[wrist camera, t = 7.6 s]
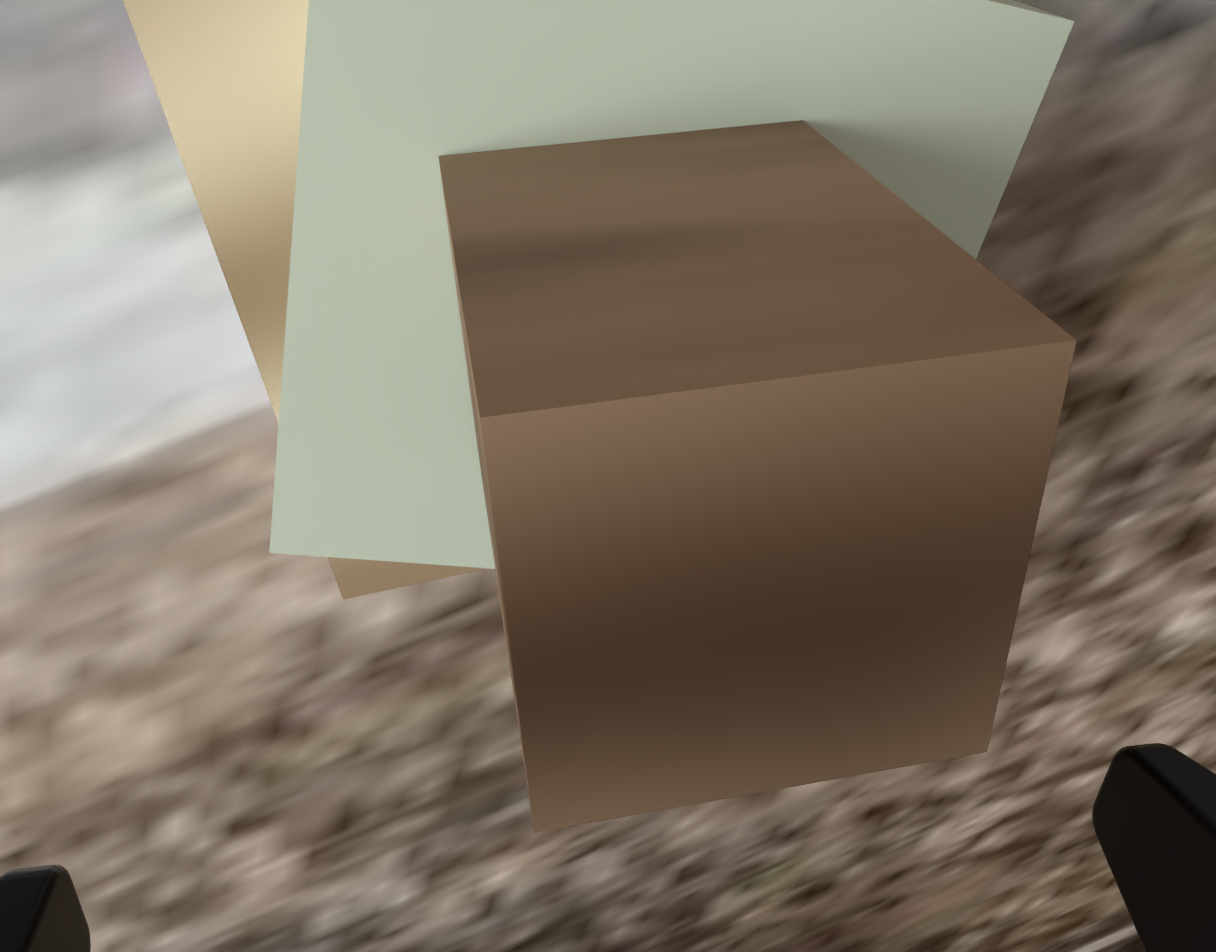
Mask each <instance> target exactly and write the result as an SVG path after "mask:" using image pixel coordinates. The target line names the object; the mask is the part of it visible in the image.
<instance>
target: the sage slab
mask: <svg viewBox="0 0 1216 952" xmlns="http://www.w3.org/2000/svg"><path fill="white" fill-rule="evenodd" d="M1074 22H1075V21H1073V20H1070V19H1067V18H1064V17H1061V16H1058V15H1056V14H1053V13H1050V12H1047V11H1044V10H1041V9H1039V8H1036V7H1033V6H1030V5H1027V4H1024V3H1021V2H1019V1H1016V0H309V4H308V18H307V32H306V46H305V60H304V74H303V88H302V102H301V116H300V130H299V144H298V159H297V173H296V187H295V201H294V215H293V229H292V243H291V257H290V271H289V285H288V299H287V313H286V328H285V342H284V356H283V370H282V384H281V398H280V412H279V426H278V440H277V454H276V468H275V483H274V497H273V511H272V525H271V539H270V553H280V554H294V555H308V556H322V557H335V558H349V559H363V560H377V561H391V562H405V563H419V564H433V565H447V566H461V567H475V568H489V569H495V563H494V557H493V550H492V543H491V536H490V530H489V523H488V516H487V509H486V503H485V496H484V489H483V482H482V476H481V468H480V461H479V454H478V446H477V439H476V431H475V424H474V417H473V409H472V402H471V394H470V387H469V379H468V372H467V365H466V357H465V350H464V342H463V335H462V328H461V320H460V313H459V305H458V298H457V290H456V283H455V276H454V268H453V261H452V253H451V246H450V238H449V231H448V224H447V216H446V209H445V201H444V194H443V187H442V179H441V172H440V164H439V157H438V156H444V155H454V154H464V153H474V152H484V151H494V150H504V149H515V148H525V147H535V146H545V145H555V144H565V143H575V142H585V141H595V140H605V139H615V138H625V137H635V136H645V135H655V134H665V133H676V132H686V131H696V130H706V129H716V128H726V127H737V126H747V125H757V124H768V123H778V122H788V121H798V120H803V121H804V122H806V123H807V124H808V125H809V126H811V127H812V128H813V129H814V130H816V131H817V132H818V133H819V134H821V135H822V136H823V137H824V138H826V139H827V140H828V141H829V142H831V143H832V144H833V145H834V146H836V147H837V148H838V149H839V150H841V151H842V152H843V153H844V154H845V155H847V156H848V157H849V158H850V159H852V160H853V161H854V162H855V163H857V164H858V165H859V166H860V167H862V168H863V169H864V170H865V171H867V172H868V173H869V174H870V175H872V176H873V177H874V178H875V179H877V180H878V181H879V182H880V183H882V184H883V185H884V186H885V187H887V188H888V189H889V190H890V191H892V192H893V193H894V194H895V195H897V196H898V197H899V198H900V199H902V200H903V201H904V202H905V203H906V204H908V205H909V206H910V207H911V208H913V209H914V210H915V211H916V212H918V213H919V214H920V215H921V216H923V217H924V218H925V219H926V220H928V221H929V222H930V223H931V224H933V225H934V226H935V227H936V228H938V229H939V230H940V231H941V232H943V233H944V234H945V235H946V236H948V237H949V238H950V239H951V240H953V241H954V242H955V243H956V244H958V245H959V246H960V247H961V248H962V249H964V250H965V251H966V252H967V253H969V254H970V255H971V256H972V257H974V258H975V259H976V258H977V256H978V253H979V251H980V248H981V246H982V243H983V241H984V239H985V236H986V234H987V231H988V229H989V227H990V224H991V222H992V219H993V217H994V215H995V212H996V210H997V207H998V205H999V202H1000V200H1001V198H1002V195H1003V193H1004V190H1005V188H1006V186H1007V183H1008V181H1009V178H1010V176H1011V174H1012V171H1013V169H1014V166H1015V164H1016V161H1017V159H1018V157H1019V154H1020V152H1021V149H1022V147H1023V145H1024V142H1025V140H1026V137H1027V135H1028V132H1029V130H1030V128H1031V125H1032V123H1033V120H1034V118H1035V116H1036V113H1037V111H1038V108H1039V106H1040V104H1041V101H1042V99H1043V96H1044V94H1045V91H1046V89H1047V87H1048V84H1049V82H1050V79H1051V77H1052V75H1053V72H1054V70H1055V67H1056V65H1057V63H1058V60H1059V58H1060V55H1061V53H1062V50H1063V48H1064V46H1065V43H1066V41H1067V38H1068V36H1069V34H1070V31H1071V29H1072V26H1073V24H1074Z"/></svg>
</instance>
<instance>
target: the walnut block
mask: <svg viewBox="0 0 1216 952" xmlns="http://www.w3.org/2000/svg"><path fill="white" fill-rule="evenodd" d="M438 157H439V164H440V172H441V179H442V187H443V194H444V201H445V209H446V216H447V224H448V231H449V238H450V246H451V253H452V261H453V268H454V276H455V283H456V290H457V298H458V305H459V313H460V320H461V328H462V335H463V342H464V350H465V357H466V365H467V372H468V379H469V387H470V394H471V402H472V409H473V417H474V424H475V431H476V439H477V446H478V454H479V461H480V468H481V476H482V482H483V489H484V496H485V503H486V509H487V516H488V523H489V530H490V536H491V543H492V550H493V557H494V563H495V570H496V577H497V584H498V591H499V597H500V604H501V611H502V618H503V624H504V631H505V638H506V645H507V651H508V658H509V665H510V672H511V678H512V685H513V692H514V699H515V706H516V712H517V719H518V726H519V733H520V739H521V746H522V753H523V760H524V766H525V773H526V780H527V787H528V793H529V800H530V807H531V814H532V821H533V827H534V833H536V832H542V831H547V830H553V829H559V828H564V827H570V826H575V825H581V824H587V823H592V822H598V821H603V820H609V819H614V818H620V817H626V816H631V815H637V814H642V813H648V812H654V811H659V810H665V809H670V808H676V807H682V806H687V805H693V804H698V803H704V802H710V801H715V800H721V799H726V798H732V797H737V796H743V795H749V794H754V793H760V792H765V791H771V790H777V789H782V788H788V787H793V786H799V785H805V784H810V783H816V782H821V781H827V780H833V779H838V778H844V777H849V776H855V775H860V774H866V773H872V772H877V771H883V770H888V769H894V768H900V767H905V766H911V765H916V764H922V763H928V762H933V761H939V760H944V759H950V758H956V757H961V756H967V755H972V754H978V753H983V752H987V749H988V744H989V740H990V735H991V730H992V726H993V721H994V717H995V712H996V708H997V703H998V698H999V694H1000V689H1001V685H1002V680H1003V675H1004V671H1005V666H1006V662H1007V657H1008V653H1009V648H1010V643H1011V639H1012V634H1013V630H1014V625H1015V620H1016V616H1017V611H1018V607H1019V602H1020V598H1021V593H1022V588H1023V584H1024V579H1025V575H1026V570H1027V565H1028V561H1029V556H1030V552H1031V547H1032V543H1033V538H1034V533H1035V529H1036V524H1037V520H1038V515H1039V510H1040V506H1041V501H1042V497H1043V492H1044V488H1045V483H1046V478H1047V474H1048V469H1049V465H1050V460H1051V455H1052V451H1053V446H1054V442H1055V437H1056V433H1057V428H1058V423H1059V419H1060V414H1061V410H1062V405H1063V400H1064V396H1065V391H1066V387H1067V382H1068V378H1069V373H1070V368H1071V364H1072V359H1073V355H1074V350H1075V345H1076V341H1077V340H1076V339H1075V338H1073V337H1072V336H1071V335H1070V334H1068V333H1067V332H1066V331H1065V330H1063V329H1062V328H1061V327H1060V326H1058V325H1057V324H1056V323H1055V322H1053V321H1052V320H1051V319H1050V318H1048V317H1047V316H1046V315H1045V314H1043V313H1042V312H1041V311H1040V310H1038V309H1037V308H1036V307H1035V306H1033V305H1032V304H1031V303H1030V302H1028V301H1027V300H1026V299H1025V298H1023V297H1022V296H1021V295H1020V294H1019V293H1017V292H1016V291H1015V290H1014V289H1012V288H1011V287H1010V286H1009V285H1007V284H1006V283H1005V282H1004V281H1002V280H1001V279H1000V278H999V277H997V276H996V275H995V274H994V273H992V272H991V271H990V270H989V269H987V268H986V267H985V266H984V265H982V264H981V263H980V262H979V261H977V260H976V259H975V258H974V257H972V256H971V255H970V254H969V253H967V252H966V251H965V250H964V249H962V248H961V247H960V246H959V245H958V244H956V243H955V242H954V241H953V240H951V239H950V238H949V237H948V236H946V235H945V234H944V233H943V232H941V231H940V230H939V229H938V228H936V227H935V226H934V225H933V224H931V223H930V222H929V221H928V220H926V219H925V218H924V217H923V216H921V215H920V214H919V213H918V212H916V211H915V210H914V209H913V208H911V207H910V206H909V205H908V204H906V203H905V202H904V201H903V200H902V199H900V198H899V197H898V196H897V195H895V194H894V193H893V192H892V191H890V190H889V189H888V188H887V187H885V186H884V185H883V184H882V183H880V182H879V181H878V180H877V179H875V178H874V177H873V176H872V175H870V174H869V173H868V172H867V171H865V170H864V169H863V168H862V167H860V166H859V165H858V164H857V163H855V162H854V161H853V160H852V159H850V158H849V157H848V156H847V155H845V154H844V153H843V152H842V151H841V150H839V149H838V148H837V147H836V146H834V145H833V144H832V143H831V142H829V141H828V140H827V139H826V138H824V137H823V136H822V135H821V134H819V133H818V132H817V131H816V130H814V129H813V128H812V127H811V126H809V125H808V124H807V123H806V122H804V121H803V120H798V121H788V122H778V123H768V124H757V125H747V126H737V127H726V128H716V129H706V130H696V131H686V132H676V133H665V134H655V135H645V136H635V137H625V138H615V139H605V140H595V141H585V142H575V143H565V144H555V145H545V146H535V147H525V148H515V149H504V150H494V151H484V152H474V153H464V154H454V155H444V156H438Z"/></svg>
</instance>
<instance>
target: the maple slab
mask: <svg viewBox="0 0 1216 952" xmlns="http://www.w3.org/2000/svg"><path fill="white" fill-rule="evenodd" d="M123 1H124V4H125V7H126V10H127V12H128V15H129V18H130V20H131V23H132V26H133V29H134V31H135V34H136V37H137V39H138V42H139V45H140V48H141V50H142V53H143V56H144V59H145V61H146V64H147V67H148V69H149V72H150V75H151V78H152V80H153V83H154V86H155V88H156V91H157V94H158V97H159V99H160V102H161V105H162V107H163V110H164V113H165V116H166V118H167V121H168V124H169V127H170V129H171V132H172V135H173V137H174V140H175V143H176V146H177V148H178V151H179V154H180V156H181V159H182V162H183V165H184V167H185V170H186V173H187V176H188V178H189V181H190V184H191V186H192V189H193V192H194V195H195V197H196V200H197V203H198V205H199V208H200V211H201V214H202V216H203V219H204V222H205V225H206V227H207V230H208V233H209V235H210V238H211V241H212V244H213V246H214V249H215V252H216V254H217V257H218V260H219V263H220V265H221V268H222V271H223V273H224V276H225V279H226V282H227V284H228V287H229V290H230V293H231V295H232V298H233V301H234V303H235V306H236V309H237V312H238V314H239V317H240V320H241V322H242V325H243V328H244V331H245V333H246V336H247V339H248V342H249V344H250V347H251V350H252V352H253V355H254V358H255V361H256V363H257V366H258V369H259V371H260V374H261V377H262V380H263V382H264V385H265V388H266V391H267V393H268V396H269V399H270V401H271V404H272V407H273V410H274V412H275V415H276V418H277V420H278V423H279V412H280V398H281V384H282V370H283V356H284V342H285V328H286V313H287V299H288V285H289V271H290V257H291V243H292V229H293V215H294V201H295V187H296V173H297V159H298V144H299V130H300V116H301V102H302V88H303V74H304V60H305V46H306V32H307V18H308V4H309V0H123ZM328 559H329V562H330V565H331V567H332V570H333V573H334V576H335V578H336V581H337V584H338V586H339V589H340V592H341V595H342V597H343V599H347V598H352V597H356V596H361V595H366V594H370V593H375V592H380V591H384V590H389V589H394V588H398V587H403V586H408V585H412V584H417V583H422V582H426V581H431V580H436V579H440V578H445V577H450V576H454V575H459V574H464V573H468V572H473V571H478V570H482V569H487V568H475V567H461V566H447V565H433V564H419V563H405V562H391V561H377V560H363V559H349V558H335V557H328Z"/></svg>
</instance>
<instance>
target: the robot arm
mask: <svg viewBox="0 0 1216 952" xmlns="http://www.w3.org/2000/svg"><path fill="white" fill-rule="evenodd" d="M1092 816H1093V825H1094V829H1095V832H1096V835H1097V838H1098V840H1099V843H1100V845H1101V847H1102V850H1103V852H1104V854H1105V857H1106V859H1107V862H1108V864H1109V866H1110V869H1111V871H1112V873H1113V876H1114V878H1115V880H1116V883H1117V885H1118V888H1119V890H1120V892H1121V895H1122V897H1123V899H1124V902H1125V904H1126V907H1127V909H1128V911H1129V914H1130V916H1131V918H1132V921H1133V923H1134V925H1135V928H1136V930H1137V933H1138V935H1139V937H1140V940H1141V942H1142V944H1143V947H1144V949H1145V952H1216V774H1215V773H1213V772H1211V771H1210V770H1208V769H1207V768H1205V767H1204V766H1202V765H1200V764H1199V763H1197V762H1196V761H1194V760H1192V759H1191V758H1189V757H1188V756H1186V755H1184V754H1183V753H1181V752H1180V751H1178V750H1176V749H1174V748H1173V747H1171V746H1168V745H1165V744H1160V743H1153V744H1144V745H1135V746H1127V747H1123V748H1121V749H1120V750H1119V751H1117V753H1116V754H1115V755H1114V757H1113V759H1112V762H1111V764H1110V766H1109V769H1108V771H1107V773H1106V776H1105V778H1104V781H1103V783H1102V785H1101V788H1100V790H1099V792H1098V795H1097V797H1096V800H1095V802H1094V805H1093V812H1092ZM90 946H91V945H90V933H89V928H88V924H87V921H86V919H85V916H84V913H83V910H82V908H81V905H80V902H79V899H78V896H77V894H76V891H75V888H74V885H73V882H72V880H71V877H70V875H69V873H68V871H67V870H66V869H65V868H64V867H62V866H60V865H47V866H38V867H29V868H20V869H15V870H11V871H9V872H7V873H5V874H4V875H2V876H1V877H0V952H90Z"/></svg>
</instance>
